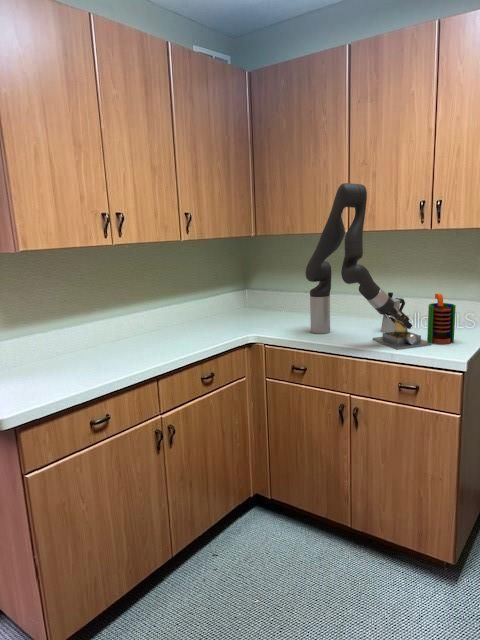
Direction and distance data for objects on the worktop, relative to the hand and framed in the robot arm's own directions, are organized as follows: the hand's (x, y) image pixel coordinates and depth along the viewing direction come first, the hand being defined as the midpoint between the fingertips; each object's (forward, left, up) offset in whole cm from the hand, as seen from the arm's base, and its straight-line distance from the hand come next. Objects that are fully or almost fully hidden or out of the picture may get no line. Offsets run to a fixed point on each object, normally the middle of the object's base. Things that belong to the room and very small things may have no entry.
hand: (404, 325), depth 202 cm
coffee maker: (-21, +8, -7) cm, 24 cm away
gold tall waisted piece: (0, -2, -6) cm, 6 cm away
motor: (+6, +13, -7) cm, 16 cm away
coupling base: (0, -1, -7) cm, 7 cm away
